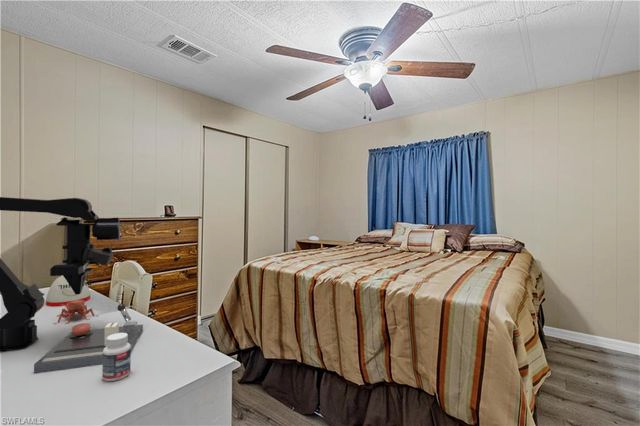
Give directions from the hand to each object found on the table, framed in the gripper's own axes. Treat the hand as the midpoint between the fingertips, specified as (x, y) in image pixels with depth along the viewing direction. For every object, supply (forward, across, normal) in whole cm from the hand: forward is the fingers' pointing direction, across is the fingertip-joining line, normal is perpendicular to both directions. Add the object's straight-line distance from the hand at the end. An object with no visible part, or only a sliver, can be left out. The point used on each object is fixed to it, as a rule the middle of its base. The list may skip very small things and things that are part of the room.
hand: (78, 294), depth 90 cm
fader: (+10, -15, -12) cm, 22 cm away
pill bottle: (+13, -28, -17) cm, 35 cm away
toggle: (+8, -5, -14) cm, 17 cm away
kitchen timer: (+13, +43, +18) cm, 48 cm away
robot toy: (+13, +21, +8) cm, 26 cm away
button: (+10, -5, -3) cm, 11 cm away
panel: (+12, -11, -8) cm, 18 cm away
